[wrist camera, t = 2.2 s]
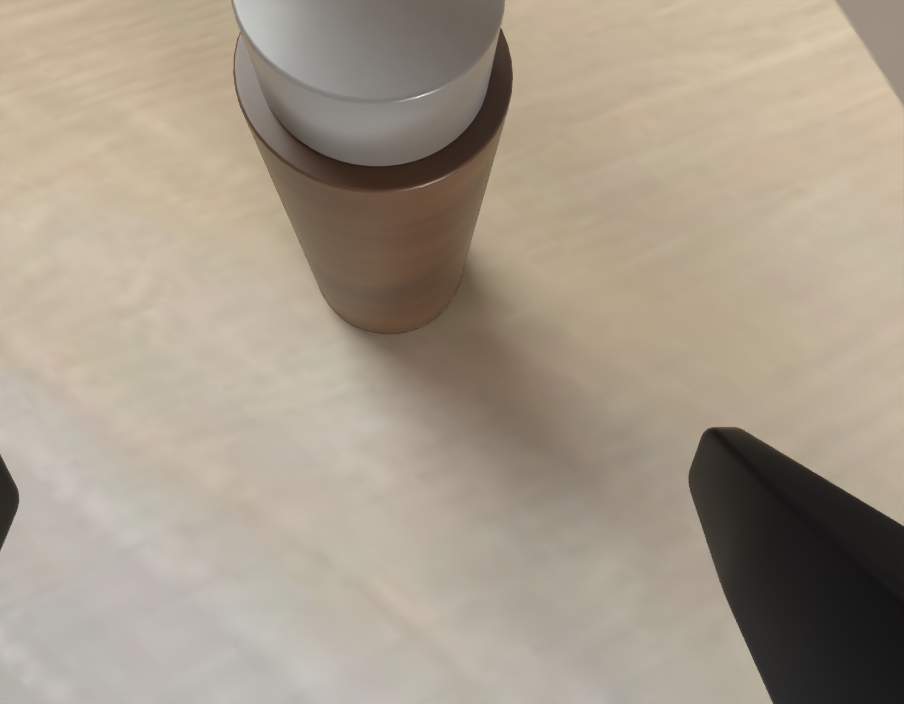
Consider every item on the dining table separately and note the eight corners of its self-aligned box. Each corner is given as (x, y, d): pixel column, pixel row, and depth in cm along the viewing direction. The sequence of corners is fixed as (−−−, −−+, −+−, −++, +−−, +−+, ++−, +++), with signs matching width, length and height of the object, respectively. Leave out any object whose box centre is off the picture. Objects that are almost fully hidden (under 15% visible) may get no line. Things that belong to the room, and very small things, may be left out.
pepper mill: (399, 364, 22) (391, 197, 9) (284, 272, 22) (121, -13, 9) (490, 256, 23) (598, -27, 10) (380, 170, 23) (351, -203, 10)
